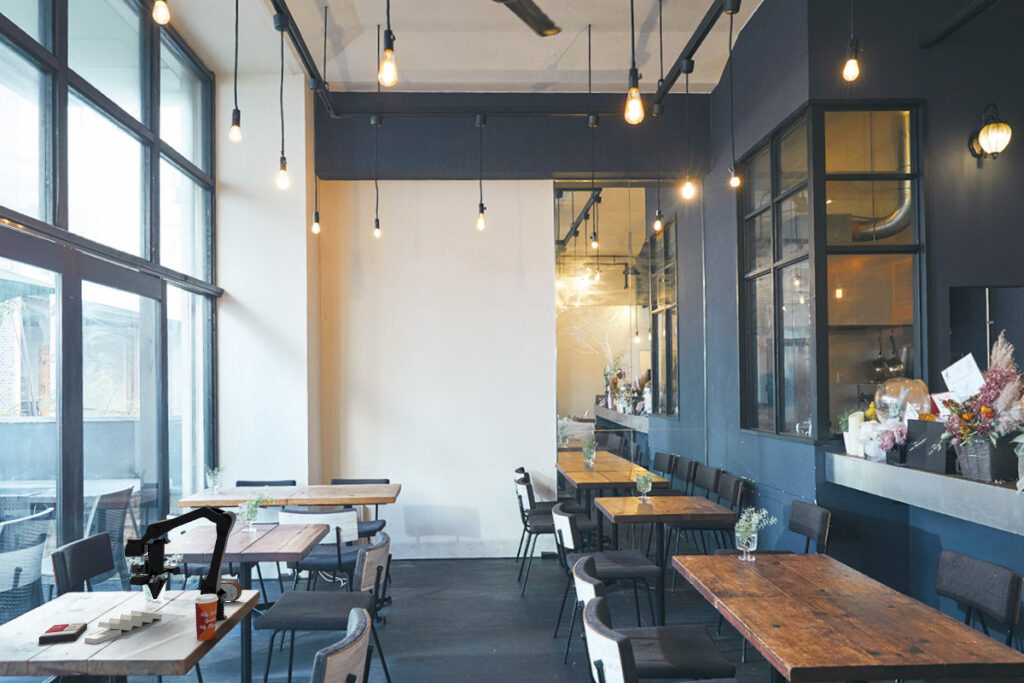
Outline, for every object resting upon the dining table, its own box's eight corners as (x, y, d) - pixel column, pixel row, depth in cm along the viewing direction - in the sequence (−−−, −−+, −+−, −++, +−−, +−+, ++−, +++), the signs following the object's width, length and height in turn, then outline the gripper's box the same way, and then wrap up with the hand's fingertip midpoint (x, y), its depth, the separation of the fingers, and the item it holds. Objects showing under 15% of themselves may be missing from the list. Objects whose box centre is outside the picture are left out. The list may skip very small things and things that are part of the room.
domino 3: (131, 620, 261) (109, 618, 253) (142, 621, 259) (120, 619, 251) (130, 625, 260) (108, 622, 252) (140, 626, 259) (119, 624, 250)
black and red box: (87, 621, 259) (75, 631, 245) (87, 633, 259) (75, 644, 244) (52, 624, 256) (38, 635, 242) (52, 636, 255) (37, 648, 241)
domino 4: (142, 617, 266) (121, 614, 257) (153, 618, 264) (132, 615, 255) (141, 621, 265) (119, 619, 256) (151, 622, 263) (130, 620, 255)
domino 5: (152, 613, 270) (131, 610, 261) (162, 614, 268) (142, 611, 259) (150, 618, 269) (130, 615, 260) (161, 619, 267) (140, 616, 259)
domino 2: (121, 624, 257) (99, 621, 248) (132, 625, 255) (110, 623, 247) (120, 629, 256) (97, 626, 248) (131, 630, 255) (108, 628, 246)
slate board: (152, 614, 277) (153, 612, 277) (186, 618, 271) (186, 615, 272) (88, 638, 250) (88, 635, 250) (123, 642, 245) (123, 639, 245)
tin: (242, 601, 294) (242, 579, 295) (238, 603, 291) (238, 581, 292) (207, 600, 296) (207, 579, 296) (203, 602, 293) (203, 581, 293)
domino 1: (110, 628, 252) (84, 637, 243) (121, 629, 251) (96, 638, 241) (110, 632, 252) (84, 642, 243) (121, 634, 251) (96, 643, 241)
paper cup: (202, 643, 243) (203, 600, 244) (188, 639, 247) (189, 597, 248) (222, 636, 250) (223, 595, 251) (209, 632, 254) (209, 592, 255)
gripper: (158, 549, 281) (158, 591, 280) (118, 560, 263) (117, 604, 262) (181, 551, 277) (180, 593, 276) (142, 562, 260) (141, 606, 258)
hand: (155, 599), depth 268 cm, fingers closed
